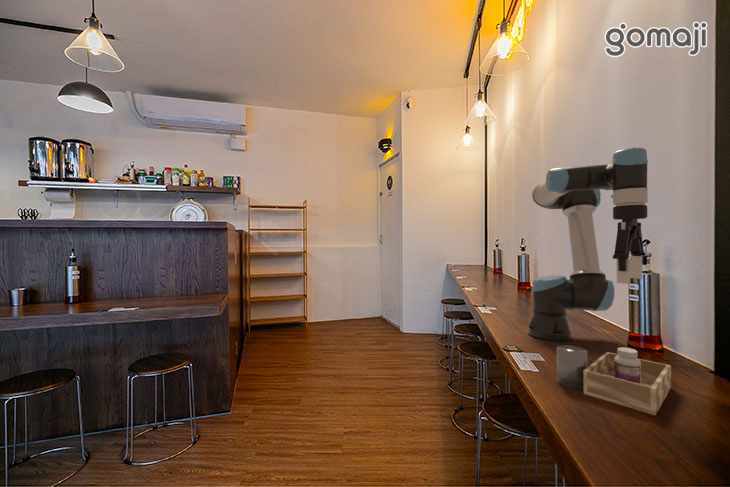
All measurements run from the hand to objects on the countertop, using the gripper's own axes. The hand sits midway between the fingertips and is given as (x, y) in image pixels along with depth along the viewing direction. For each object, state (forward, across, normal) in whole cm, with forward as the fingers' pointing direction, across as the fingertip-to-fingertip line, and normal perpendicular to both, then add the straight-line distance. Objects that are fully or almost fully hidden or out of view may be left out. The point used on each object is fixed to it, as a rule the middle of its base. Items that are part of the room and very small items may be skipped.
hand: (629, 280), depth 92 cm
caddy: (+26, +13, +2) cm, 29 cm away
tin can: (+26, +18, -9) cm, 33 cm away
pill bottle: (+26, +13, +2) cm, 29 cm away
